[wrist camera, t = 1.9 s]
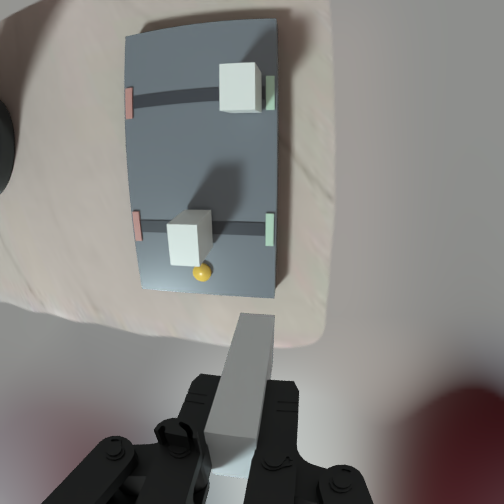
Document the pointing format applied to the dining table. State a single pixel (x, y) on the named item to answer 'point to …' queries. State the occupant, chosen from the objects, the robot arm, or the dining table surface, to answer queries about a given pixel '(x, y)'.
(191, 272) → the breaker panel
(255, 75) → the block
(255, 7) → the dining table surface
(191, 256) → the block
